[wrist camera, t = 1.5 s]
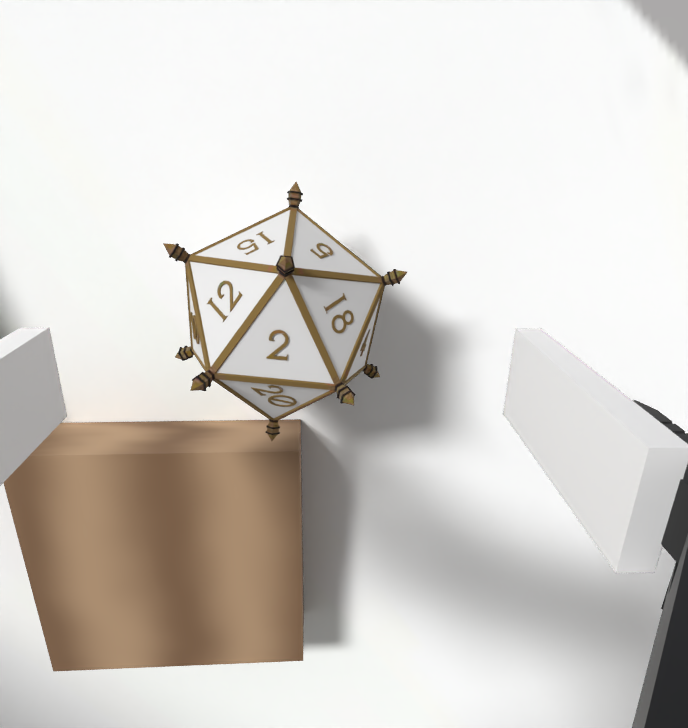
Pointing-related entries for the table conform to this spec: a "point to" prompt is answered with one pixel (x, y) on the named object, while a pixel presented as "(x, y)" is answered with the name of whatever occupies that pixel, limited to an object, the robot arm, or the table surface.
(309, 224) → the game die
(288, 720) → the table surface
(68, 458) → the plinth
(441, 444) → the table surface
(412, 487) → the table surface
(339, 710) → the table surface
